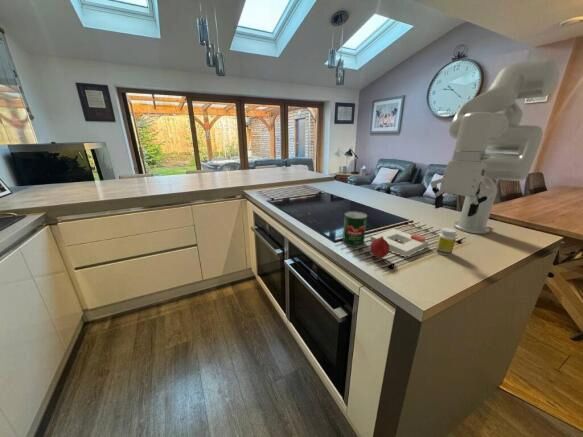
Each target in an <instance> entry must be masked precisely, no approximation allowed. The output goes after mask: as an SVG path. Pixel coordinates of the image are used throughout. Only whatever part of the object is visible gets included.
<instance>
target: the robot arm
mask: <svg viewBox="0 0 583 437" xmlns="http://www.w3.org/2000/svg"><path fill="white" fill-rule="evenodd" d="M559 80H560V69H559V65H558V63H557V61H556V60H554V59H552V58H543V59H537V60H529V61H523V62H517V63H513V64H509V65H507V66H505V67H504V68H502V69H501V70H500V71H499V72H498V74H497V75H496V76H495V78H494V80H493V81H492V83H491V85H490V86H489V88H488V89H487V91H485V92H483V93H481V94H479V95H477V96H475V97H473V98H472V99H470V100H467V102H465V103H464V104H463V105H462V106H460V107H459V109H458V110H457V112H456V114H455V115H454V117H453V118H452V121H451V123H450V125H449V127H448V128H449V130H448V131H449V132H448V133H449V135H450V137H451V138H453V139H456V142H455V147H454V151H453V154H452V159H451V160H449V161H448V164H447V166H446V167H445V170H444V173H443V175H442V178H439V179H437V180H433V181H431V182H430V186H431V188H432V190H431V191H432V193H434V196H435V200H434V209H440V208H442V205H443V201H444V197H445V196H444V195H445V194H446V193H447V194H452V195H457V196H461V197H462V196H463V197H465V198H464V201H463V205H462V209H461V213H460V217H459V219H458V221H454V222H453V227H455V228H456V229H458V230H460V231H463V232H466V233H469V234H478V235H486V234H488V233H489V234H490V231H491V229H490V228H489V227H488V226H487V225H488V222H489V218H490V215H491V212H492V208H493V205H494V203H495V199H496V196H497V192H498V187H497V185H496V184H495V182H494V180H503V181H510V182H514V181H515V182H519V181H523V180H525V179H526V178H527V177H528V176H529V174H530V171H531V169H532V166H533V164H534V161H535V159H536V156H537V153H538V150H539V148H540V145H541V143H542V139H543V134H544V133H543V128H542V127H541V126H538V125H531V124H530V125H529V124H527V125H525V124H524V125H522V124H521V125H520V123H521V121H522V118H523V114H524V112H523V110H522V108H521V107H520V106H519V104H517V103H516V100H519V99H521V100H522V99H532V98H533V99H535V98H537V99H538V98H545V97H548V96H549V95H551V94H552V93H553V92H554V91H555V89H556V87H557V86H558V84H559ZM487 150H488V151H492V152H486V151H487ZM498 152H502V153H498ZM504 152H505V153H504ZM438 184H440V187H438Z"/></svg>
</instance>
